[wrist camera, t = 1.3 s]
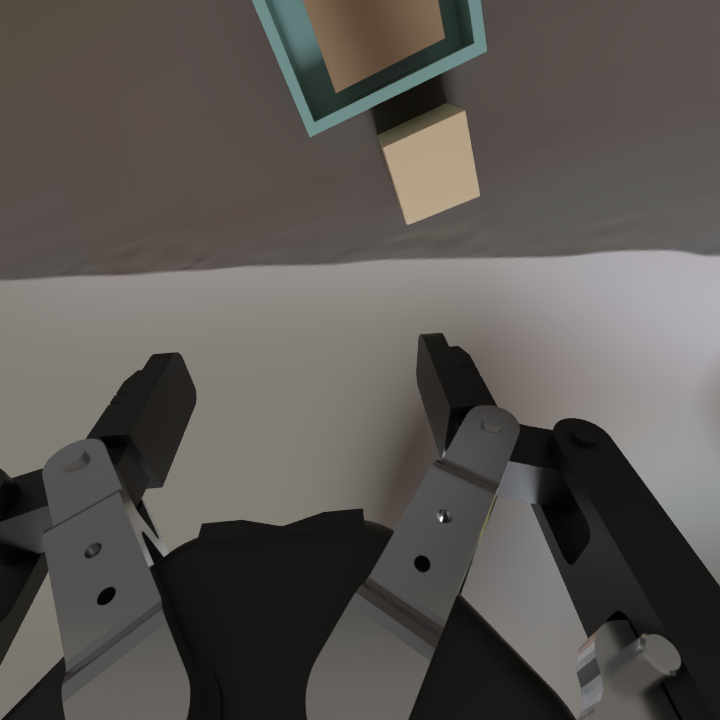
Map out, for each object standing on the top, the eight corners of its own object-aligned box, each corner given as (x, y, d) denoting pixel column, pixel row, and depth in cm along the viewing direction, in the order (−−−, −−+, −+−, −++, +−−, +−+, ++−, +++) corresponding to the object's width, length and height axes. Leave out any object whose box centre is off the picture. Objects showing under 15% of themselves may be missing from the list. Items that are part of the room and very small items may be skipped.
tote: (435, -175, 18) (451, -218, 15) (470, 52, 23) (487, 51, 20) (240, -50, 20) (223, -68, 17) (313, 129, 25) (309, 137, 23)
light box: (446, 102, 25) (464, 110, 21) (461, 177, 28) (480, 196, 24) (377, 134, 26) (382, 147, 22) (398, 203, 29) (407, 225, 25)
